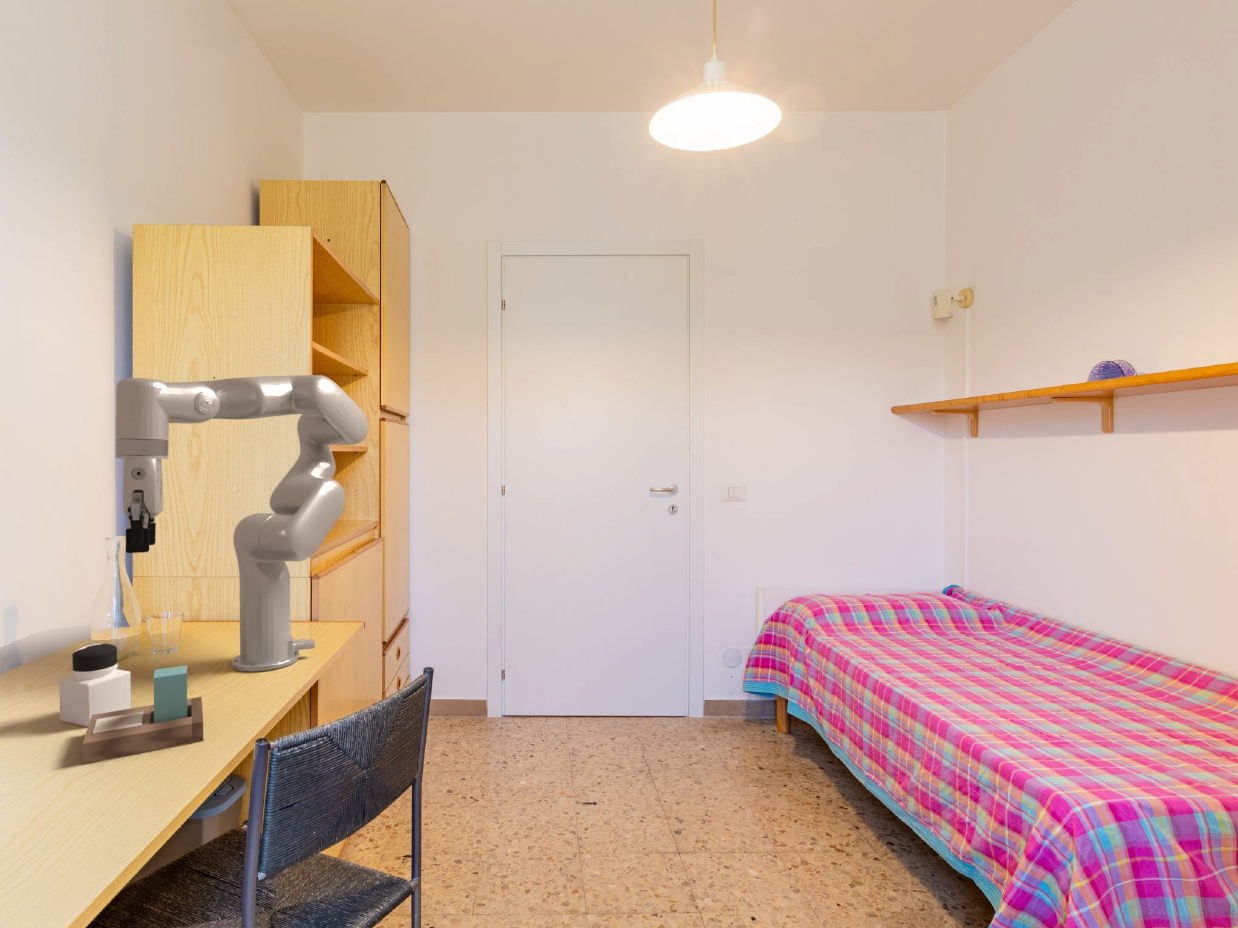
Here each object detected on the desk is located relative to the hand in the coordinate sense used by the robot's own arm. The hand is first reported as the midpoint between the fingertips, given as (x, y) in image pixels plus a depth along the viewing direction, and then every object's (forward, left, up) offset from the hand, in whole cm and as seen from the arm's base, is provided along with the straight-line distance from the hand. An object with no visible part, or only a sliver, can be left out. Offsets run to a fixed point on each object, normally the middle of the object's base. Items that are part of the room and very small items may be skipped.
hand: (141, 548), depth 118 cm
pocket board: (-1, +14, -28) cm, 31 cm away
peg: (-4, +14, -28) cm, 32 cm away
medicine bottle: (+7, 0, -29) cm, 29 cm away
